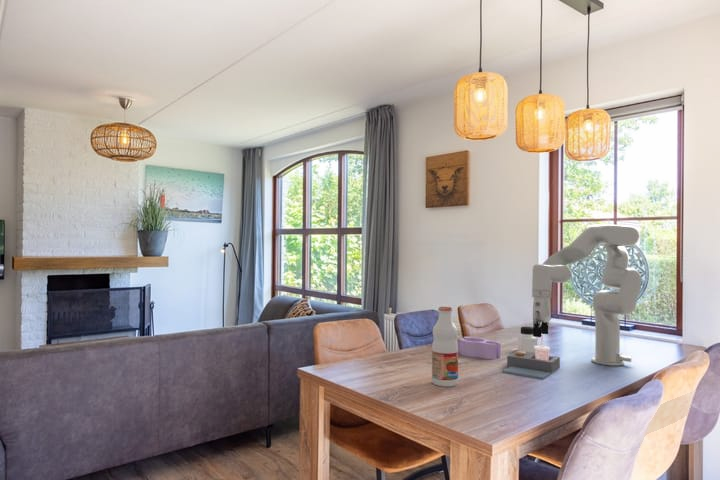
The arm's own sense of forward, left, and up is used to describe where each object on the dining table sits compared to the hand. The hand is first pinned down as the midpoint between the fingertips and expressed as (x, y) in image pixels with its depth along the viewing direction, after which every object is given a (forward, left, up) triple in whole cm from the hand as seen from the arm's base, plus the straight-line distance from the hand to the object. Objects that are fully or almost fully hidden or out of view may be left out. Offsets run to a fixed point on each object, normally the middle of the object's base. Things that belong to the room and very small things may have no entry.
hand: (540, 335), depth 195 cm
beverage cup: (0, -1, -14) cm, 14 cm away
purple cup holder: (+30, -8, -14) cm, 35 cm away
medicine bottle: (+15, -30, -14) cm, 36 cm away
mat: (+2, +11, -14) cm, 18 cm away
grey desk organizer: (+3, -1, -14) cm, 14 cm away
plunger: (+9, -1, -13) cm, 16 cm away
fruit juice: (+21, +44, -14) cm, 51 cm away
